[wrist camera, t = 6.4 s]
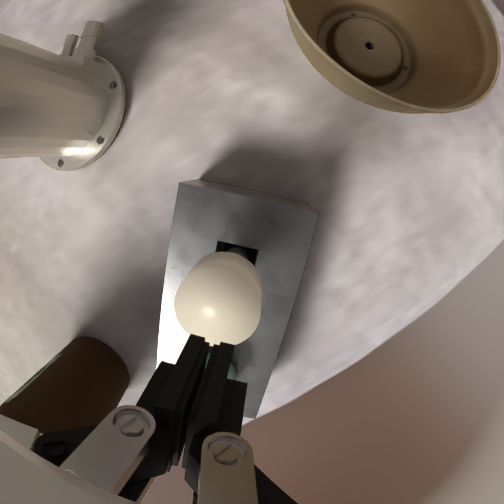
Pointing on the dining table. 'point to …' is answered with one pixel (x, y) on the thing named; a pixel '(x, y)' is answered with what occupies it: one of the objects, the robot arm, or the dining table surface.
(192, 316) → the cream knob
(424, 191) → the dining table surface
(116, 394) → the olive oil
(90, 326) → the dining table surface
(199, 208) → the mount block
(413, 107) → the planter bowl
